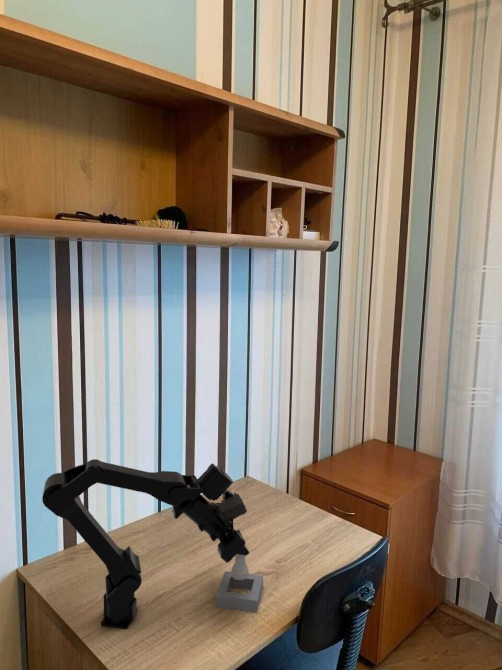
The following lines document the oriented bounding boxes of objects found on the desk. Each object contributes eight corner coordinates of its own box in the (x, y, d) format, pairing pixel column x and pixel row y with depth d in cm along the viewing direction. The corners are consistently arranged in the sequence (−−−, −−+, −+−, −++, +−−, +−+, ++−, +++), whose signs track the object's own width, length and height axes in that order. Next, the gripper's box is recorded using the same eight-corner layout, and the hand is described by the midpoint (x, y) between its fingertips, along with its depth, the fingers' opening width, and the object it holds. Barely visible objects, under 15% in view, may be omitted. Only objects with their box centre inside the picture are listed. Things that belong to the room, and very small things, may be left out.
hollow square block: (215, 607, 124) (216, 595, 124) (224, 581, 134) (224, 571, 134) (257, 612, 123) (257, 600, 122) (262, 586, 132) (263, 575, 132)
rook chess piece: (230, 570, 130) (231, 540, 129) (248, 570, 130) (249, 540, 129) (230, 581, 125) (231, 550, 124) (249, 581, 126) (250, 550, 124)
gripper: (237, 505, 114) (282, 544, 119) (217, 472, 132) (256, 507, 137) (202, 543, 113) (248, 581, 118) (185, 504, 131) (226, 539, 136)
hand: (245, 549), depth 127 cm, fingers closed on rook chess piece, 3 cm apart
